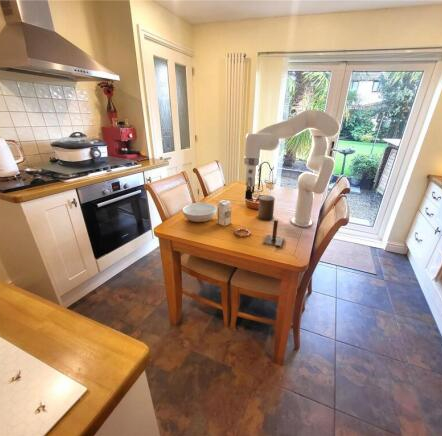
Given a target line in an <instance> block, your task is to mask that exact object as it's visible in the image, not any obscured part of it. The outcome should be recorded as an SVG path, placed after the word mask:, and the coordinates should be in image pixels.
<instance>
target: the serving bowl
mask: <svg viewBox="0 0 442 436" xmlns="http://www.w3.org/2000/svg"><path fill="white" fill-rule="evenodd" d="M217 213H218V206H216V204H213V203H211V202H201V201H200V202H192V203H189V204H186V205H185V206H184V207H182V214H183V216H184V217H185V219H187V220H189V221H191V222H196V223H201V222H207V221H210V220H212V219H213V218H214V217H216V214H217Z"/></svg>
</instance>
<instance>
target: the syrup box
mask: <svg viewBox="0 0 442 436" xmlns="http://www.w3.org/2000/svg"><path fill="white" fill-rule="evenodd" d="M231 223H232V201H229V200H227V199H223V200H220V201H218V202H217V224H219V225H221V226H223V227H226V226H228V225H231Z"/></svg>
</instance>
